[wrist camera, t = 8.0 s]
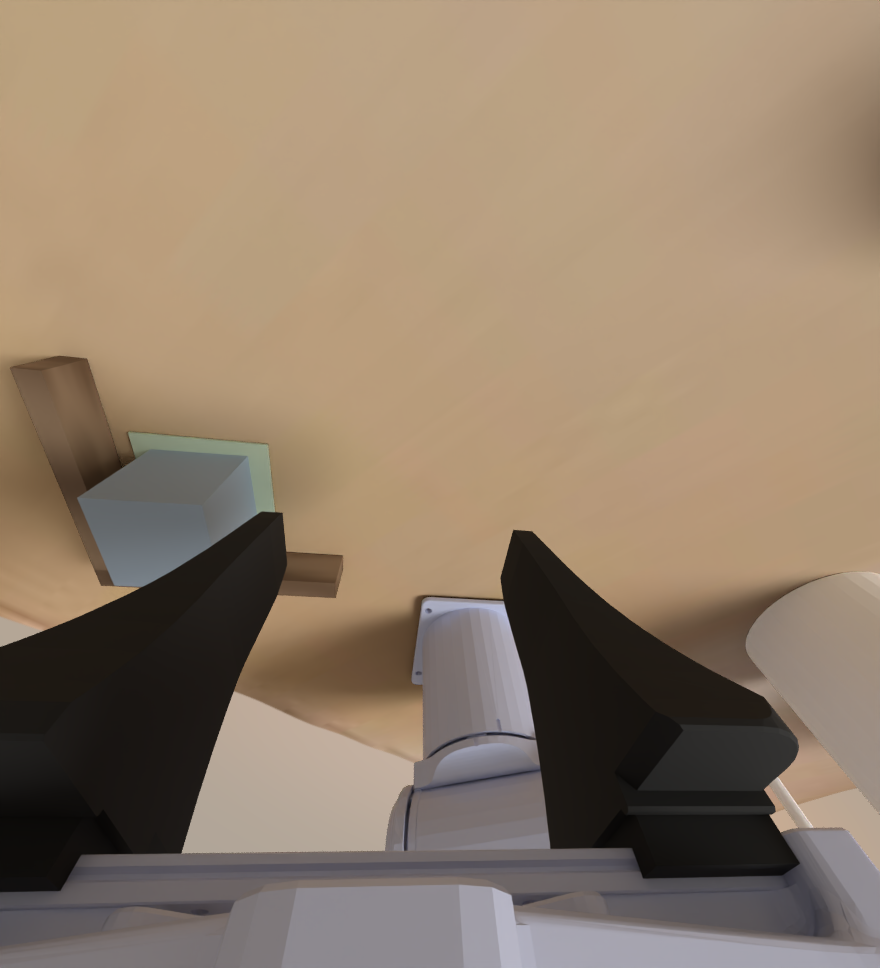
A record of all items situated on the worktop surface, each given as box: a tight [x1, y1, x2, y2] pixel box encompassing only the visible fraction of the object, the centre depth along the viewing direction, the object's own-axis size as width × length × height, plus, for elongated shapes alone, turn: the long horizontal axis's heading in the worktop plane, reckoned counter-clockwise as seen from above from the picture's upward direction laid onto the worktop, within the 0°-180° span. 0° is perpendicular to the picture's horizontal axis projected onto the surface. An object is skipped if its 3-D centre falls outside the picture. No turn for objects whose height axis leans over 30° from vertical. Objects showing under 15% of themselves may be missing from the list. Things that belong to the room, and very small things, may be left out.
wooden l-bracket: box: [10, 356, 343, 598], centre depth 20 cm, size 12×13×2 cm
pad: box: [128, 431, 275, 514], centre depth 22 cm, size 7×7×1 cm
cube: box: [77, 449, 257, 587], centre depth 20 cm, size 5×5×5 cm
